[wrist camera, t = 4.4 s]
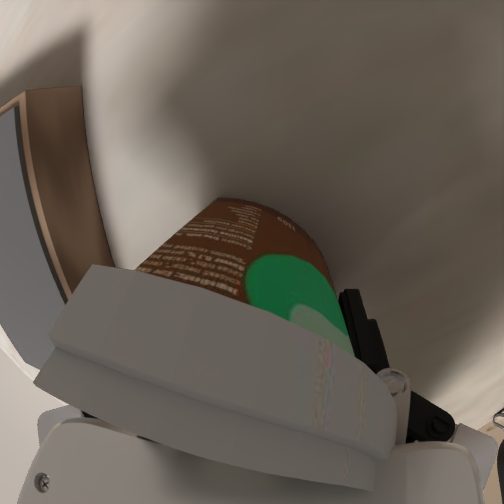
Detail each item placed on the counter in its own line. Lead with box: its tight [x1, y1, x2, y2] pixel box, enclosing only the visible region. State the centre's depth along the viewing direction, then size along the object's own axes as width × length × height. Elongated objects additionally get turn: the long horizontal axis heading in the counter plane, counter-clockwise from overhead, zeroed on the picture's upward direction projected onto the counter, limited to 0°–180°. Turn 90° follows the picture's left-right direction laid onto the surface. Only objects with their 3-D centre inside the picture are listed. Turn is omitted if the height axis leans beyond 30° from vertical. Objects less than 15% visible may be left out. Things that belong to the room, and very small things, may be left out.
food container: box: [33, 198, 397, 492], centre depth 9 cm, size 12×6×10 cm, turn 3°
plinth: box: [0, 87, 115, 370], centre depth 13 cm, size 18×12×4 cm, turn 3°
